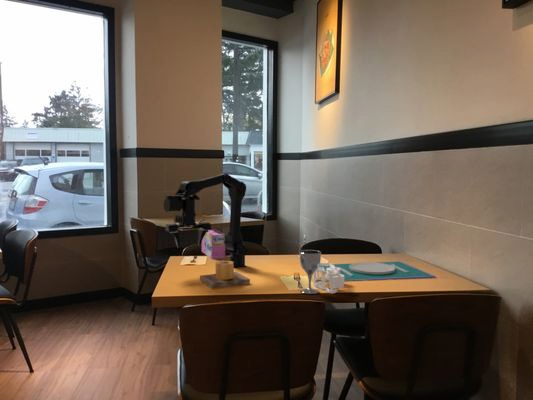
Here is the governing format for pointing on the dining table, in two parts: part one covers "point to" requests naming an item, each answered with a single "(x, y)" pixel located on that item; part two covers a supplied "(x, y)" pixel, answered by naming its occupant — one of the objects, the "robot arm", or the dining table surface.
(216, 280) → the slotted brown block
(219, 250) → the gum box
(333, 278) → the clear lumpy piece
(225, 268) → the notched tan hollow cylinder
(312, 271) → the wine glass
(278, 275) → the dining table surface
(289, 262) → the dining table surface
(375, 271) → the place mat
